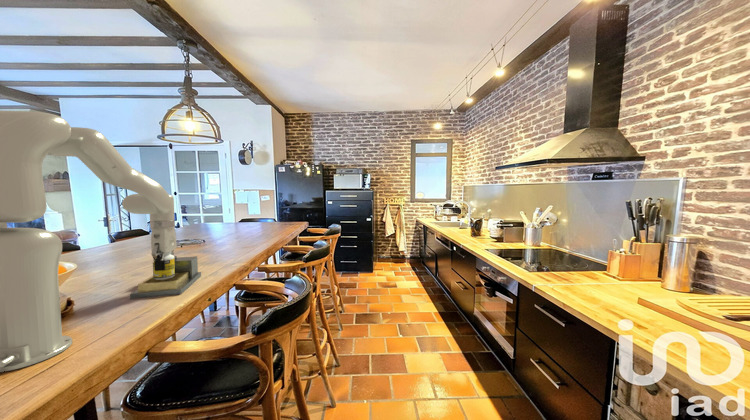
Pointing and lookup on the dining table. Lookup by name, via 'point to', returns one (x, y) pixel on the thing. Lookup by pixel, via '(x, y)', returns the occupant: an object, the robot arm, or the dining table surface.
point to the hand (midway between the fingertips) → (164, 267)
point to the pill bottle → (166, 268)
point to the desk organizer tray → (170, 280)
